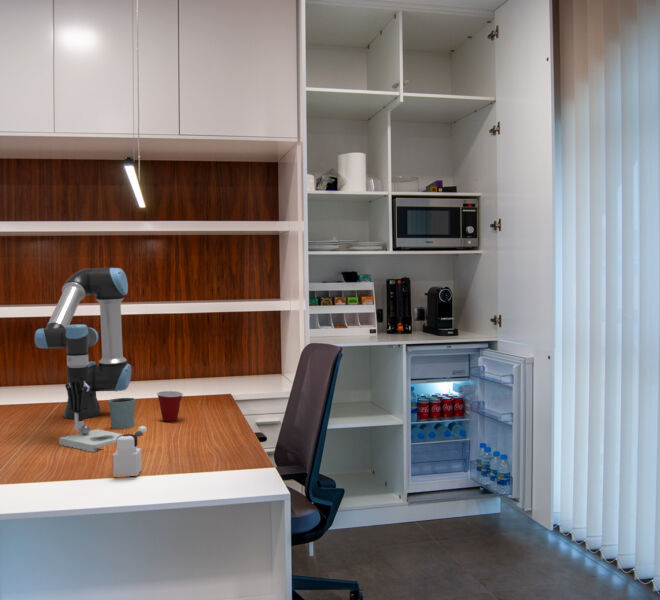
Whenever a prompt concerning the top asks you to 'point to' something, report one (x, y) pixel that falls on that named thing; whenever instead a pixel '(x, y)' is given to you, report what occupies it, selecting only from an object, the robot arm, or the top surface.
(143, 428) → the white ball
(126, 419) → the grey cup
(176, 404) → the plastic cup
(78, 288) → the robot arm
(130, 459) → the medicine bottle
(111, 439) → the board
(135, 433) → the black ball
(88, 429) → the steel ball
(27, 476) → the top surface
